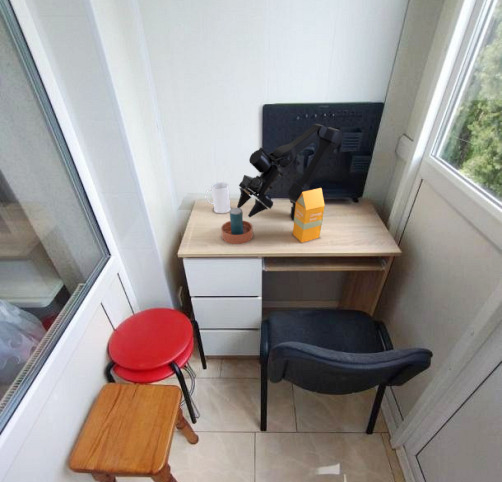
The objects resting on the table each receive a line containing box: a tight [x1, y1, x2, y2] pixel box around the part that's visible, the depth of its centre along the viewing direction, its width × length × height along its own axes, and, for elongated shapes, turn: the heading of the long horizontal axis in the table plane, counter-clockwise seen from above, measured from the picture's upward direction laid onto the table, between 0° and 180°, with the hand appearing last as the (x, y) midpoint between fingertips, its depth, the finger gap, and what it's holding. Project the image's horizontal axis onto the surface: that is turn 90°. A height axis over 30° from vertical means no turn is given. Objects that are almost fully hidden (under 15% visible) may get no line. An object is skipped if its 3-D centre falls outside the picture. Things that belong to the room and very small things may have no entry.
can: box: [229, 207, 244, 235], centre depth 118 cm, size 5×5×12 cm
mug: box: [204, 181, 232, 214], centre depth 137 cm, size 12×8×12 cm
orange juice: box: [292, 187, 326, 243], centre depth 115 cm, size 8×9×20 cm
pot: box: [220, 219, 254, 245], centre depth 121 cm, size 13×13×4 cm
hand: (243, 212), depth 116 cm, fingers open, 9 cm apart
